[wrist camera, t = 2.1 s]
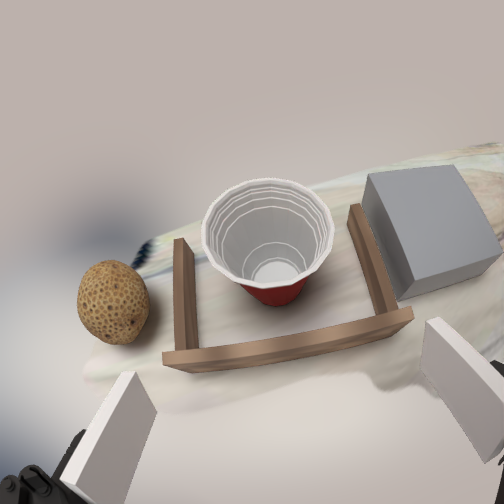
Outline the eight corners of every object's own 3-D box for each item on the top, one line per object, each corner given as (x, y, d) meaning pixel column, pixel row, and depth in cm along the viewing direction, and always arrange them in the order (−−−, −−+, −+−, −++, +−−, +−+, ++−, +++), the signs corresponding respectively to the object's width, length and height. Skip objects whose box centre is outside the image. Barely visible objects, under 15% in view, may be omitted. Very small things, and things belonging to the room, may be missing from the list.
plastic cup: (340, 307, 30) (360, 255, 19) (247, 341, 30) (217, 307, 19) (304, 230, 35) (302, 159, 25) (222, 259, 35) (190, 197, 25)
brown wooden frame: (355, 222, 35) (363, 186, 29) (391, 336, 27) (414, 318, 21) (185, 255, 36) (163, 225, 30) (190, 373, 29) (162, 365, 23)
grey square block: (440, 192, 35) (453, 164, 30) (481, 274, 28) (503, 252, 22) (361, 204, 36) (368, 173, 31) (397, 301, 29) (415, 280, 24)
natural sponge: (173, 342, 31) (126, 318, 22) (112, 358, 31) (59, 338, 22) (161, 276, 35) (121, 235, 27) (107, 295, 35) (61, 263, 27)
